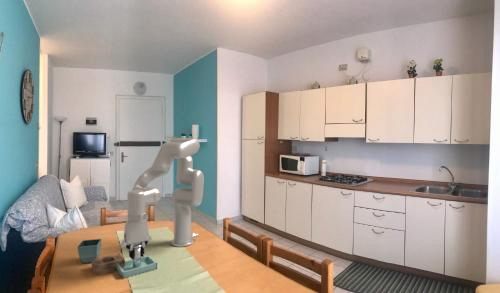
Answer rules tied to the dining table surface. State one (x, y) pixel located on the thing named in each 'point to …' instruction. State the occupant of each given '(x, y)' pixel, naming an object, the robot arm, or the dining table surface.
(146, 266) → the tray
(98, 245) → the flower pot
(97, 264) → the socket block
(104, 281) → the dining table surface
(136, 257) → the pin
